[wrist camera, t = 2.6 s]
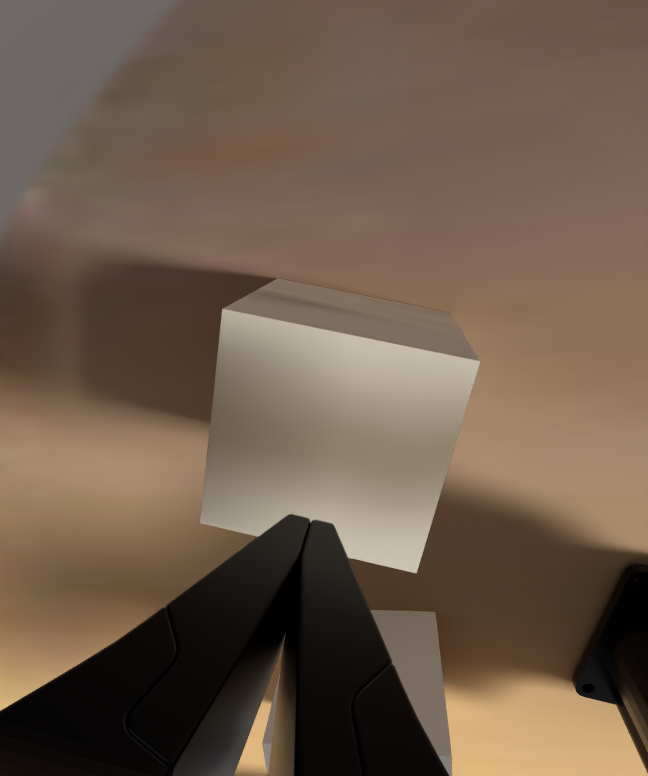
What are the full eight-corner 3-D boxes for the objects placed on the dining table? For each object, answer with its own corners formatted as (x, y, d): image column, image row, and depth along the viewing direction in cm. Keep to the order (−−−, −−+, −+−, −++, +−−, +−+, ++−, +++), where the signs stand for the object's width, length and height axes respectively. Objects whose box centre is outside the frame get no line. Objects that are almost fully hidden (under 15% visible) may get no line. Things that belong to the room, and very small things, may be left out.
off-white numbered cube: (436, 714, 23) (453, 890, 17) (308, 707, 24) (280, 871, 18) (435, 610, 21) (452, 766, 15) (295, 606, 22) (260, 752, 16)
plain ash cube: (408, 466, 19) (416, 573, 13) (256, 433, 19) (200, 523, 13) (450, 312, 17) (480, 361, 11) (278, 278, 17) (222, 308, 11)
